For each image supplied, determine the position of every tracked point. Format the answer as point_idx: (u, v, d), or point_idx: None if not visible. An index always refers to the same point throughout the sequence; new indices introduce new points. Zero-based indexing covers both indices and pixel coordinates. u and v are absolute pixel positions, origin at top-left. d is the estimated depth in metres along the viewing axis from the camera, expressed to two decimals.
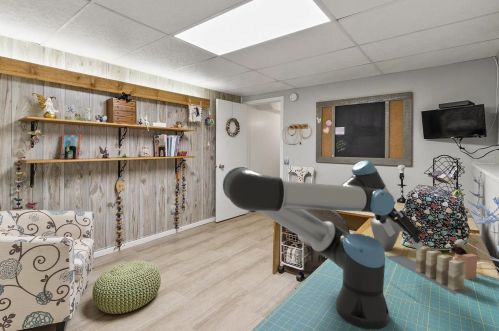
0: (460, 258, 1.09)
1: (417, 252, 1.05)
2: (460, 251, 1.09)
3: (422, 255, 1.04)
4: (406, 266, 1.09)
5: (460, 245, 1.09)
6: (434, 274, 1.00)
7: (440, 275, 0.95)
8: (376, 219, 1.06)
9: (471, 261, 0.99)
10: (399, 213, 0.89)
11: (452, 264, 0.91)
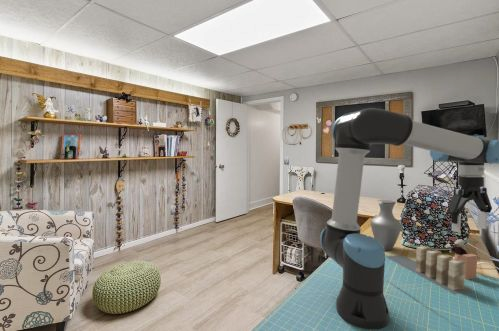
0: (460, 258, 1.09)
1: (417, 252, 1.05)
2: (460, 251, 1.09)
3: (422, 255, 1.04)
4: (406, 266, 1.09)
5: (460, 245, 1.09)
6: (434, 274, 1.00)
7: (440, 275, 0.95)
8: None
9: (471, 261, 0.99)
10: (457, 189, 0.97)
11: (452, 264, 0.91)
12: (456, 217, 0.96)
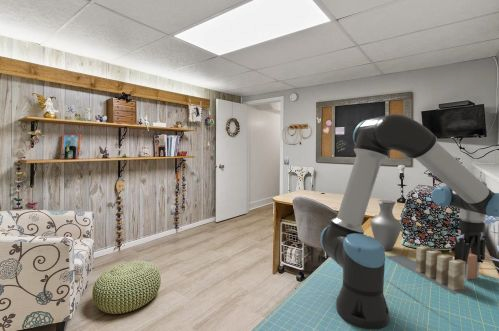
0: None
1: (417, 252, 1.05)
2: None
3: (422, 255, 1.04)
4: (406, 266, 1.09)
5: None
6: (434, 274, 1.00)
7: (440, 275, 0.95)
8: None
9: (471, 261, 0.99)
10: (457, 238, 0.98)
11: (452, 264, 0.91)
12: None
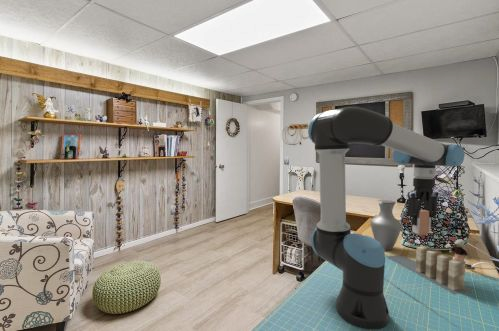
0: (460, 258, 1.09)
1: (417, 252, 1.05)
2: (460, 251, 1.09)
3: (422, 255, 1.04)
4: (406, 266, 1.09)
5: (460, 245, 1.09)
6: (434, 274, 1.00)
7: (440, 275, 0.95)
8: None
9: (423, 216, 1.06)
10: (409, 193, 1.05)
11: (452, 264, 0.91)
12: (416, 219, 1.06)
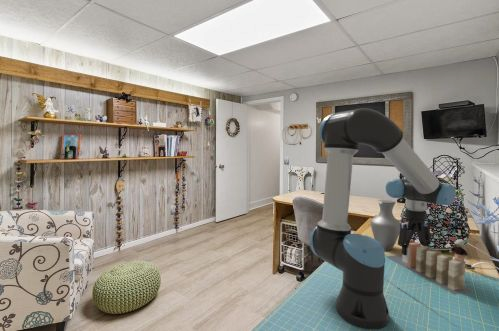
0: (460, 258, 1.09)
1: (417, 252, 1.05)
2: (460, 251, 1.09)
3: (422, 255, 1.04)
4: (406, 266, 1.09)
5: (460, 245, 1.09)
6: (434, 274, 1.00)
7: (440, 275, 0.95)
8: None
9: (415, 249, 1.08)
10: (402, 224, 1.07)
11: (452, 264, 0.91)
12: (405, 249, 1.07)
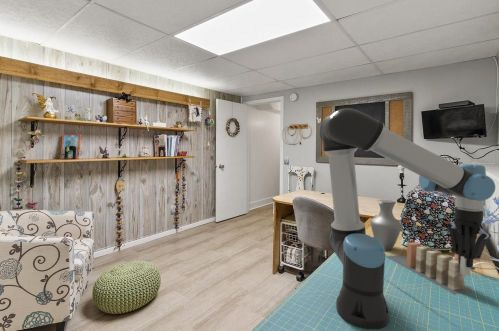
0: None
1: (417, 252, 1.05)
2: None
3: (422, 255, 1.04)
4: (406, 266, 1.09)
5: None
6: (434, 274, 1.00)
7: (440, 275, 0.95)
8: (454, 249, 0.92)
9: (415, 249, 1.08)
10: (487, 235, 0.82)
11: (452, 264, 0.91)
12: None
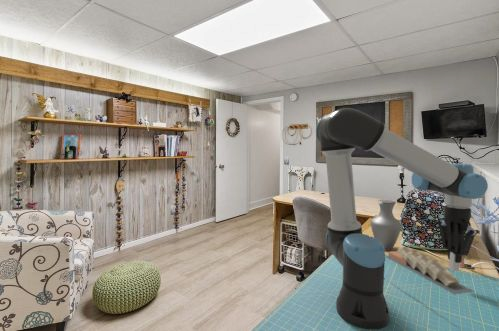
0: None
1: (401, 253, 1.13)
2: None
3: (405, 252, 1.12)
4: (406, 266, 1.09)
5: None
6: None
7: (430, 271, 0.99)
8: (443, 245, 0.95)
9: (395, 253, 1.19)
10: (475, 232, 0.86)
11: (427, 263, 1.00)
12: None
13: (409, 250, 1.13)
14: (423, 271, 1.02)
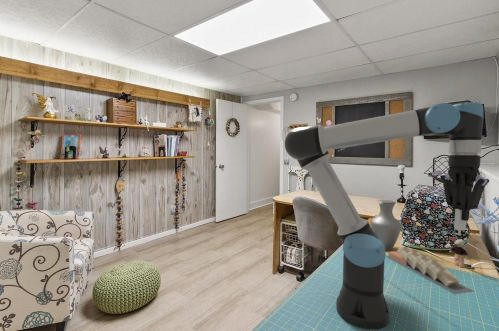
0: (460, 258, 1.09)
1: (401, 253, 1.13)
2: (460, 251, 1.09)
3: (405, 252, 1.12)
4: (406, 266, 1.09)
5: (460, 245, 1.09)
6: None
7: (430, 271, 0.99)
8: (447, 202, 0.82)
9: (395, 253, 1.19)
10: (485, 181, 0.72)
11: (427, 263, 1.00)
12: None
13: (409, 250, 1.13)
14: (423, 271, 1.02)
